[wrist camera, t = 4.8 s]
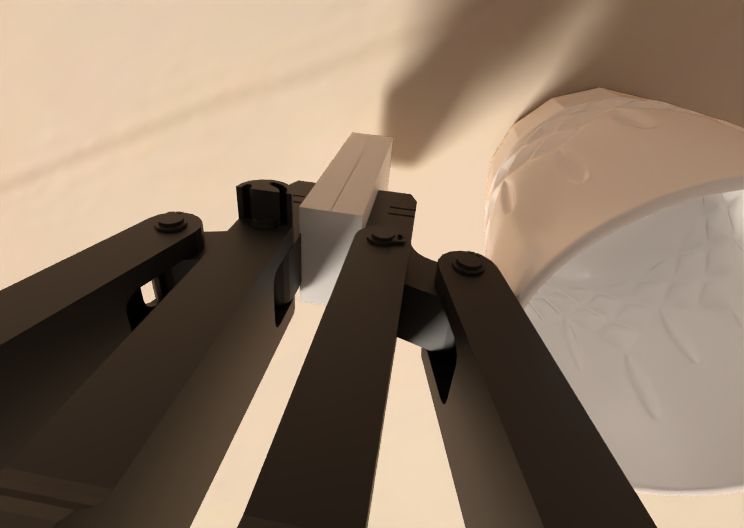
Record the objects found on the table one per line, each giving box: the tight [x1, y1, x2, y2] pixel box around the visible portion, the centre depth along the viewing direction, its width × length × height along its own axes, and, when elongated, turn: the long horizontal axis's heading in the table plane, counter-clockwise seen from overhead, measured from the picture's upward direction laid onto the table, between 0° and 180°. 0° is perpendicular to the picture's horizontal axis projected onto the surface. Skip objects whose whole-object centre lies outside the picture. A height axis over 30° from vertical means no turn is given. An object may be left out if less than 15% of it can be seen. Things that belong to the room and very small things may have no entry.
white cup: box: [484, 88, 744, 496], centre depth 12 cm, size 8×8×10 cm
